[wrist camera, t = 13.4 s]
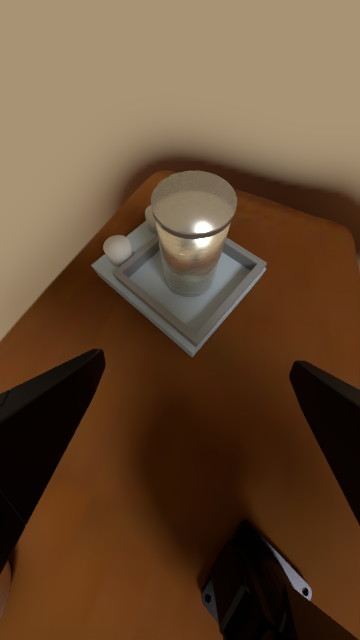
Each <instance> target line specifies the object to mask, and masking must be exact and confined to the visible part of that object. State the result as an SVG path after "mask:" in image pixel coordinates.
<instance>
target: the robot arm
mask: <svg viewBox="0 0 360 640" xmlns="http://www.w3.org/2000/svg"><path fill="white" fill-rule="evenodd" d="M104 369H105V358H104V352H103V350H102V349H92V350H90V351H88V352H86V353H84V354H82V355H80V356H77V357H75V358H73V359H71V360H69V361H67V362H65V363H63V364H61V365H59V366H57V367H55V368H53V369H51V370H49V371H47V372H45V373H43V374H41V375H38V376H36V377H34V378H32V379H30V380H28V381H26V382H24V383H22V384H20V385H18V386H16V387H14V388H12V389H11V390H8V391H6V392H3V393H1V394H0V574H1V572H2V571H3V569H4V567H5V565H6V563H7V561H8V559H9V557H10V555H11V553H12V551H13V550H14V548H15V546H16V544H17V542H18V540H19V538H20V536H21V534H22V532H23V531H24V529H25V525H26V524H27V523H28V521H29V519H30V517H31V515H32V513H33V511H34V509H35V507H36V505H37V503H38V502H39V500H40V498H41V496H42V494H43V492H44V490H45V488H46V486H47V484H48V483H49V481H50V479H51V477H52V475H53V473H54V471H55V469H56V467H57V465H58V463H59V462H60V460H61V458H62V456H63V454H64V452H65V450H66V448H67V446H68V444H69V442H70V441H71V439H72V437H73V435H74V433H75V431H76V429H77V427H78V425H79V423H80V422H81V420H82V418H83V416H84V414H85V412H86V410H87V408H88V406H89V404H90V402H91V401H92V398H93V396H94V394H95V392H96V389H97V387H98V384H99V382H100V379H101V377H102V374H103V371H104ZM289 378H290V381H291V384H292V386H293V389H294V392H295V394H296V397H297V400H298V402H299V405H300V407H301V410H302V412H303V414H304V416H305V418H306V420H307V422H308V424H309V426H310V428H311V430H312V432H313V434H314V436H315V438H316V440H317V442H318V444H319V446H320V448H321V450H322V452H323V454H324V456H325V458H326V460H327V462H328V464H329V466H330V468H331V470H332V472H333V474H334V476H335V478H336V480H337V482H338V484H339V485H340V487H341V489H342V491H343V493H344V495H345V497H346V499H347V501H348V503H349V505H350V507H351V509H352V511H353V513H354V515H355V517H356V519H357V521H358V523H359V525H360V390H359V389H357V388H355V387H353V386H352V385H350V384H348V383H346V382H344V381H342V380H340V379H338V378H337V377H335V376H333V375H331V374H329V373H327V372H325V371H323V370H322V369H320V368H318V367H316V366H314V365H312V364H310V363H308V362H306V361H298V360H297V361H295V362H294V363H293V366H292V369H291V372H290V375H289ZM246 526H248V527H249V530H248V531H246V530H245V527H246ZM303 587H306V588H305V590H304V591H302V588H303ZM206 594H209V595H210V597H208V598H207V597H205V595H206ZM311 596H312V591H311V588H310V587H309V585H308V583H307V582H306V580H305V579H304V578H303V577H302V576H301V575H300V574H299V573H298V572H297V571H296V570H295V569H294V568H293V567H292V566H291V565H290V564H289V563H288V562H287V560H286V559H285V558H284V557H283V556H282V555H281V554H280V553H279V552H278V551H277V550H276V549H275V548H274V547H273V546H272V545H271V544H270V543H269V542H268V541H267V539H266V538H265V537H264V536H263V535H262V534H261V533H260V532H259V531H258V530H257V529H256V528H255V527H254V526H253V525H252V524H251V523H250V522H249V521H248V520H243V521H242V522H241V524H240V525H239V527H238V529H237V530H236V532H235V534H234V535H233V537H232V539H231V540H228V541H227V543H226V545H225V546H224V548H223V550H222V551H221V553H220V555H219V556H218V558H217V560H216V561H215V563H214V565H213V566H212V568H211V574H210V576H209V577H208V579H207V581H206V582H205V584H204V586H203V587H202V590H201V597H202V602H203V604H204V606H205V607H206V608H207V610H208V611H209V612H210V613H211V615H212V616H213V617H214V619H215V620H216V621H217V622H218V624H219V630H220V633H221V634H222V636H223V640H358V639H357V638H356V637H355V636H353V635H352V634H351V633H350V632H348V631H347V630H346V629H345V628H343V627H342V626H341V625H339V624H338V623H337V622H336V621H334V620H333V619H332V618H331V617H329V616H328V615H327V614H326V613H324V612H323V611H322V610H321V609H319V608H318V607H317V606H316V605H314V604H313V603H312V602H311V601H310V599H311Z"/></svg>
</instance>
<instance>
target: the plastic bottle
mask: <svg viewBox="0 0 360 640" xmlns="http://www.w3.org/2000/svg"><path fill="white" fill-rule="evenodd" d="M10 585H11V569H10V564H9V561H7V563H6V565H5V567H4V569H3V571H2V572H1V574H0V619H1V617H2V614H3V612H4V609H5V606H6V603H7V599H8V595H9V591H10Z"/></svg>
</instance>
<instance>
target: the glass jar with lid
mask: <svg viewBox="0 0 360 640" xmlns="http://www.w3.org/2000/svg"><path fill="white" fill-rule="evenodd" d="M151 206H152V212H153V216H154V218H155V222H156V228H157V234H158V240H159V246H160V252H161V258H162V264H163V269H164V275H165V281H166V283H167V285H168V287H169V288H170V289H171V290H172V291H173V292H174V293H176V294H178V295H180V296H184V297H196V296H199V295H202V294H204V293H205V292H207V291H208V290H209V289H210V287H211V286H212V284H213V282H214V278H215V275H216V271H217V268H218V264H219V261H220V257H221V254H222V250H223V247H224V243H225V240H226V236H227V233H228V230H229V226H230V223H231V221H232V219H233V217H234V214H235V210H236V206H237V197H236V194H235V191H234V189H233V188H232V187H231V185H230V184H229V183H227V181H225V180H224V179H222V178H221V177H219V176H217V175H215V174H212V173H208V172H203V171H185V172H180V173H176V174H173V175H171V176H169V177H167V178H165V179H164V180H162V181H161V182H160V183H159V184H158V185H157V186H156V188H155V189H154V191H153V193H152V197H151Z"/></svg>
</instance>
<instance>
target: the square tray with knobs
mask: <svg viewBox="0 0 360 640" xmlns="http://www.w3.org/2000/svg"><path fill="white" fill-rule="evenodd" d="M145 217H146V221H145V222H144V223H142V224H141V225H140V226H139V227H138V228H136V229H135V230H134V231H133V232H131V233H130V234H129V235H128V236H126V237H125V236H122V235H115V236H111V237H110V238H108V239H107V240H106V241H105V242H104V245H103V250H104V252H105V254H104V255H103V256H102V257H101V258H99V259H98V260H97V261H96V262H95V263H93V264H92V265H91V266H92V267H93V269H94V270H95V271H96V273H97V274H98V275H99V277H101V278H102V279H103V280H104V281H105V282H106V283H107V284H109V285H110V286H111V287H112V288H113V289H114V290H115V291H117V292H118V293H119V294H120V295H121V296H122V297H123V298H125V299H126V300H127V301H128V302H129V303H130V304H131V305H133V306H134V307H135V308H136V309H137V310H138V311H139V312H141V313H142V314H143V315H144V316H145V317H146V318H147V319H149V320H150V321H151V322H152V323H153V324H154V325H156V326H157V327H158V328H159V329H160V330H161V331H162V332H164V333H165V334H166V335H167V336H168V337H169V338H170V339H172V340H173V341H174V342H175V343H176V344H177V345H178V346H180V347H181V348H182V349H183V350H184V351H185V352H186V353H188V354H189V355H190V356H191V357H193V356H194V355H195V354H196V352H197V351H198V350H199V349H200V348H201V347H202V345H203V344H204V343H205V342H206V341H207V340H208V338H209V337H210V336H211V335H212V334H213V333H214V331H215V330H216V329H217V328H218V327H219V325H220V324H221V323H222V322H223V321H224V320H225V318H226V317H227V316H228V315H229V314H230V313H231V311H232V310H233V309H234V308H235V307H236V306H237V304H238V303H239V302H240V301H241V300H242V299H243V297H244V296H245V295H246V294H247V293H248V292H249V290H250V289H251V288H252V287H253V286H254V284H255V283H256V282H257V281H258V280H259V278H260V277H261V276H262V274H263V273H264V271H265V270H266V268H264V267H265V266H266V264H267V263H266V262H264V261H263V260H261V259H260V258H258V257H256V256H255V255H253V254H252V253H250V252H249V251H247V250H245V249H244V248H242V247H241V246H239V245H237V244H236V243H234V242H233V241H231V240H230V239H228V238H226V240H225V243H224V247H223V250H222V254H221V257H220V261H219V264H218V268H217V271H216V275H215V278H214V282H213V284H212V286H211V287H210V289H209V290H208V291H207V292H205V293H204V294H202V295H199V296H196V297H184V296H180V295H178V294H176V293H174V292H173V291H172V290H171V289H170V288H169V287H168V285H167V283H166V281H165V275H164V269H163V264H162V258H161V252H160V246H159V240H158V234H157V228H156V222H155V218H154V216H153V212H152V206H151V205H150V206H148V207H147V208H146V210H145Z"/></svg>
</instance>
